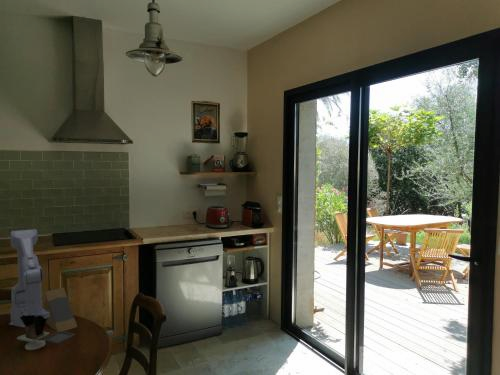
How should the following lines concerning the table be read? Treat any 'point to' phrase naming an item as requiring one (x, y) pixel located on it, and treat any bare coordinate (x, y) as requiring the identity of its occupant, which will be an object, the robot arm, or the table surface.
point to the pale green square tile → (31, 339)
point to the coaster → (35, 345)
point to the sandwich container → (59, 310)
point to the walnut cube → (32, 332)
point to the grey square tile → (58, 337)
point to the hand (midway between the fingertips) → (34, 333)
